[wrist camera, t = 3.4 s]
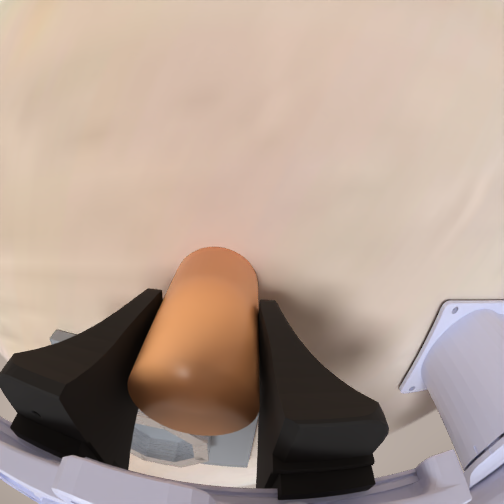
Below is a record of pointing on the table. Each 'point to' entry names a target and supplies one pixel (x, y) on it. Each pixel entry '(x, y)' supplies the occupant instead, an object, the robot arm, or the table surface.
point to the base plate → (222, 446)
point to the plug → (203, 348)
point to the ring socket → (169, 446)
